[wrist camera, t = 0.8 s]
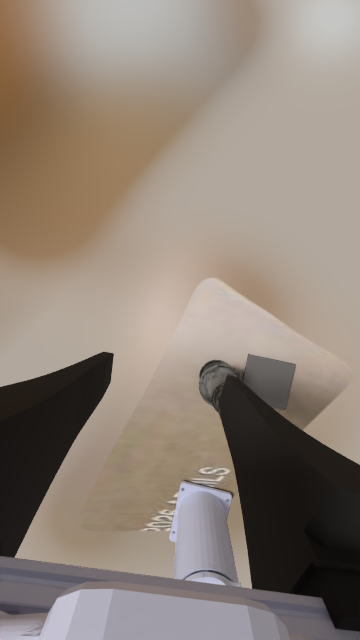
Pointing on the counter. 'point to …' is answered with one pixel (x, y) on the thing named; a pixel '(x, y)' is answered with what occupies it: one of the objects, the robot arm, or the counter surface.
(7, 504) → the robot arm
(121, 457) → the counter surface
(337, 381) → the counter surface
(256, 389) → the charcoal mat
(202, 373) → the dark grey chess piece
